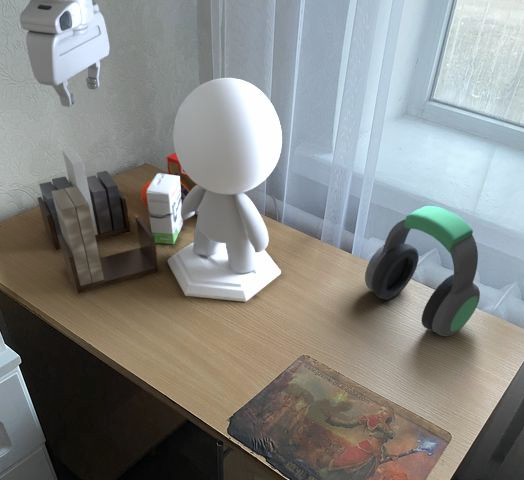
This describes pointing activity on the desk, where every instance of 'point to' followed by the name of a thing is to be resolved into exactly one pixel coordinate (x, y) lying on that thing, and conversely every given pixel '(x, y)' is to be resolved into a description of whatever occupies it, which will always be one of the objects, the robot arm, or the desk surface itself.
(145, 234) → the brown book rack
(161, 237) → the ink box
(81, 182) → the white book
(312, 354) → the desk surface
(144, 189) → the clementine
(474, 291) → the headphones
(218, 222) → the big headed doll
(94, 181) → the grey book rack
